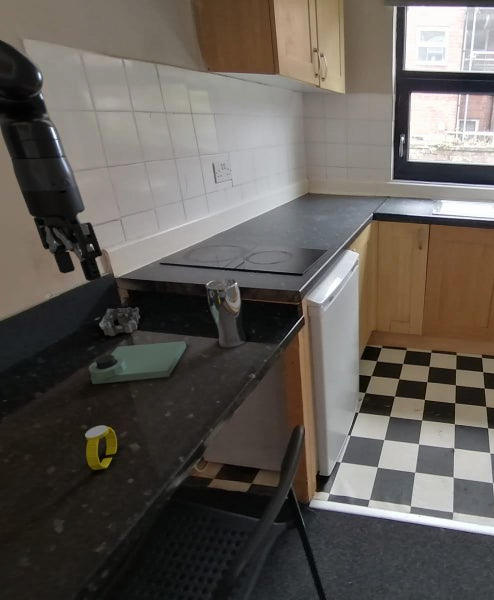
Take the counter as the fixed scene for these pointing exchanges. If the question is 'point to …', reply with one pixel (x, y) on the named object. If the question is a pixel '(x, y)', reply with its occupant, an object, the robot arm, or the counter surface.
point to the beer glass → (226, 311)
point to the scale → (139, 362)
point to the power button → (105, 361)
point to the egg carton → (120, 320)
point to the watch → (92, 446)
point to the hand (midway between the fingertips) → (80, 275)
